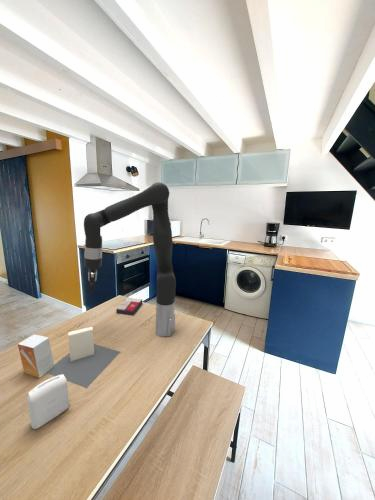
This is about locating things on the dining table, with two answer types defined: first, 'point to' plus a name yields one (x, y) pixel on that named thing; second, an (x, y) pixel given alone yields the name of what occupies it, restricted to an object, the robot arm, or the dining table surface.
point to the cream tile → (81, 343)
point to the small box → (36, 355)
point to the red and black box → (129, 306)
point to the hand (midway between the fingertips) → (92, 289)
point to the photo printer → (48, 400)
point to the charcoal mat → (84, 366)
